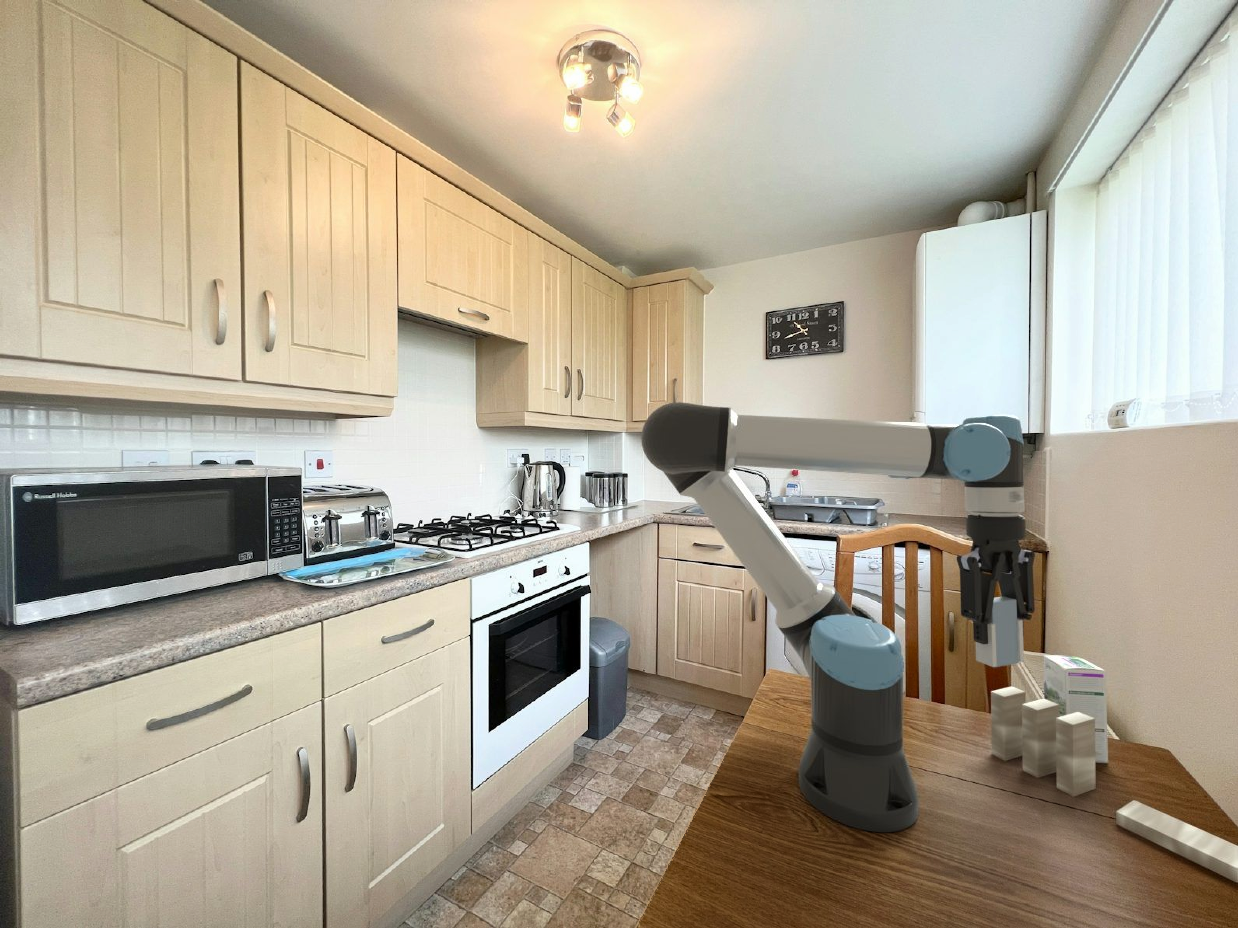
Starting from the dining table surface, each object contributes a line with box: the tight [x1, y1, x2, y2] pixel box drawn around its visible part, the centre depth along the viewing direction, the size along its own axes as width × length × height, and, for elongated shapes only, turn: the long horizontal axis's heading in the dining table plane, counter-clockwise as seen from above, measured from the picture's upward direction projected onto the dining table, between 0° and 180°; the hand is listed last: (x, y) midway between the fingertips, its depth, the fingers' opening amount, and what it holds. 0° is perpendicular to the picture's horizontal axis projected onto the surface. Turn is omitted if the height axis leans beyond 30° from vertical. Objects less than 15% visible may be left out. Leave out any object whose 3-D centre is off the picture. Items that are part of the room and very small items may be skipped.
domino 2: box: [990, 686, 1027, 761], centre depth 79 cm, size 2×5×10 cm, turn 110°
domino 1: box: [982, 596, 1019, 668], centre depth 78 cm, size 2×5×10 cm, turn 105°
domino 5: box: [1115, 799, 1238, 883], centre depth 60 cm, size 2×5×10 cm
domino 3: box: [1022, 698, 1059, 779], centre depth 75 cm, size 2×5×10 cm, turn 110°
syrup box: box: [1043, 654, 1109, 764], centre depth 80 cm, size 6×6×14 cm
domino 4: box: [1056, 712, 1096, 798], centre depth 71 cm, size 2×5×10 cm, turn 110°
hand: (999, 660), depth 78 cm, fingers closed on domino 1, 5 cm apart
